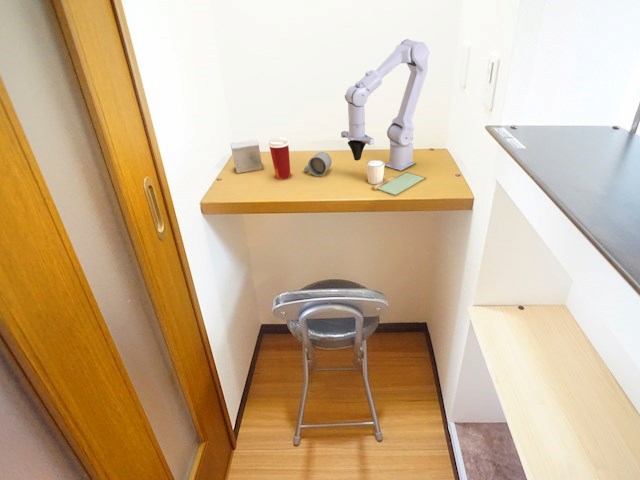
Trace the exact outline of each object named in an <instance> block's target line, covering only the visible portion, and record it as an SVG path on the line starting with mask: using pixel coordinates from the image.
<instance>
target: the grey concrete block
mask: <svg viewBox="0 0 640 480" xmlns="http://www.w3.org/2000/svg"><path fill="white" fill-rule="evenodd" d="M230 148H231V154H232V158H233V162H234V163H233V164H234V168H235V171H236V174H241V173H246V172H254V171H260V170H264V169H263V163H262V157H261V152H260V151H261V150H260V144H259V142H258V140H257V139H252V140H243V141H235V142H230Z"/></svg>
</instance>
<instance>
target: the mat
mask: <svg viewBox="0 0 640 480" xmlns="http://www.w3.org/2000/svg"><path fill="white" fill-rule="evenodd" d="M424 179H425V177H422V176H420V175H416V174H413V173H409V172H406V173H403V174H402V175H400V176H398V177H396V179H394V180H392V181H390V182H388V183H387V184H385V185H383V186H381V187H379V188H377V189H376V190H379V191H381V192H384V193H387V194H390V195H392V196H397V195H398V194H400V193H402V192H403V191H405V190H407V189H409V188H410V187H412V186H414V185H416V184H418V183H419V182H421V181H423V180H424Z"/></svg>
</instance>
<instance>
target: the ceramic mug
mask: <svg viewBox="0 0 640 480" xmlns="http://www.w3.org/2000/svg"><path fill="white" fill-rule="evenodd" d="M331 165H332V157H331V156H330V154H328V153H327V152H324V151H321V152H317V153H316V154H314V155H313V156H312V157H310V159H309V160H308V163H307V165H306V166H305V167H303V170H304V172H305V173H308V172H309V173H310V174H312V175H313V176H315V177H321V176H324V175H325V174H326V173H327V172H328V170H329V169H331V168H330V167H331Z"/></svg>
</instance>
